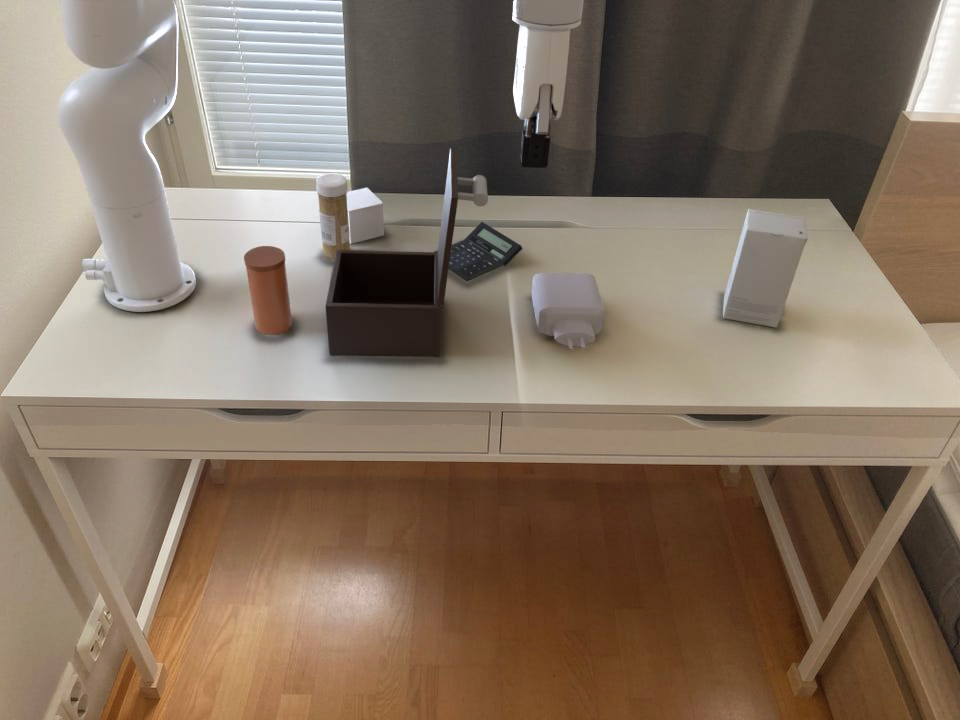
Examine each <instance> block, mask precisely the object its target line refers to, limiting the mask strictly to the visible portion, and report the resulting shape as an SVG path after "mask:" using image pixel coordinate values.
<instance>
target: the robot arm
mask: <svg viewBox="0 0 960 720" xmlns="http://www.w3.org/2000/svg"><path fill="white" fill-rule="evenodd" d="M584 3H585V0H513V1H512V15H511V18H512V21H513V22H514V23H516V24H517V25H519V28H518V37H517V45H516V57H515V67H514V78H513V85H512V86H513V87H512V94H513V95H512V96H513V102H514V107H515V112H516V115H517V117H518V118H519V120H521V121H524V123H523V127H524V128H523V129H524V130H523V129H522V133H521V143H520V145H521V146H520V156H519V157H520V158H519V159H520V164H521V166H522V168H533V169H534V168H537V169H546V168H547V167H548V164H549V155H550V145H551V138H552V137H551V130H552V129H551V128H552V121H553V120H554V121H558V120H559V119H560V118H561V117H562V113H563V107H564V99H565V92H566V90H565V89H566V84H567V83H566V82H567V75H568V74H567V72H568V64H569V63H568V61H569V52H570V41H571V30H572V29H576V28H578V27H579V26H581V25H582V19H583V11H584ZM60 12H61V13H60V14H61V24H62V30H63V31H62V32H63V34H64V39H65V42H66V44H67V46H68V48H69V49H70V51H71V53H72V54H73V55H74V56H75V58H77V60H79V61H80V62H81V63H82V64H85V65H87V66H89V67H91V68H89V69H88V70H86V71H85V72H84V73H82V74H81V75H79V76H78V77H76V78H75V79H73V80H72V82H70V83H69V84H68V85H67V87H66V88H65V89H64V90H63V92H62V94H61V95H60V98H59V100H58V104H57V120H58V123H59V127H60V129H61V132H62V134H63V136H64V138H65V140H66V142H67V143H68V145H69V147H70V150H71V151H72V153H73V156H74V157H75V160H76V162H77V164H78V167H79V170H80V173H81V175H82V176H81V177H82V179H83V183H84V185H85V187H86V188H85V189H86V192H87V196H88V198H89V201H90V202H89V203H90V205H91V208H92V212H93V215H94V219H95V222H96V226H97V229H98V233H99V237H100V239H101V243H102V246H103V250H104V253H105V259H98V258H83V259H82V262H81V268H82V271H83V272H84V274H85V279H86V280H87V281H98V280H99V281H103V283H104V284H103V293H104V296H105V299H106V301H108V303H109V304H111V305H112V306H113V307H115V308H117V309H120V310H123V311H126V312H133V313H146V312H156V311H161V310H164V309H167V308H170V307H173V306H175V305H177V304H179V303H181V302H183V301H185V299H187V298H188V297H189V296H191V294H192V293H193V292H194V290H195V288H196V286H197V280H196V274H195V272H194V270H193V269H192V268H191V267H190V266H189V265H188V264H186V263H185V262H182V261H181V257H180V253H179V248H178V247H179V246H178V243H177V239H176V235H175V229H174V225H173V221H172V216H171V211H170V206H169V203H168V197H167V192H166V188H165V184H164V179H163V175H162V171H161V169H160V166H159V164H158V162H157V159H156V158H155V157H154V155H153V154H152V152H151V151H150V149H149V147H148V146H147V143H146V134H147V133H148V132H149V131H151V129H152V128H153V127H154V126H155V125H156V124H158V123H159V122H160V121H161V120H162V119H163V118H164V117H165V116H166V115H167V114H168V113H169V112H170V111H171V109H172V107H173V106H174V103H175V101H176V97H177V89H178V61H179V59H178V57H179V56H178V55H179V45H178V44H179V18H178V17H179V15H178V11H177V5H176V2H175V0H60Z"/></svg>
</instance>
